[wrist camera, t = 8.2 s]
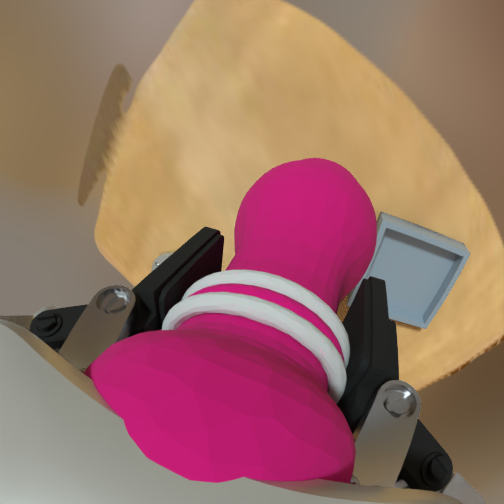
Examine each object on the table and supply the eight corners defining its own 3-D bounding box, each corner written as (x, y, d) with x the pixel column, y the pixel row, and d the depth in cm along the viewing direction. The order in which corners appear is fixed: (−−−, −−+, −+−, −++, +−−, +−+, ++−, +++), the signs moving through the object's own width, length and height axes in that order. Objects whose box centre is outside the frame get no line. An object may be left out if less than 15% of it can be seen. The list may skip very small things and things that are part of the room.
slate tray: (423, 316, 37) (425, 329, 35) (348, 293, 40) (347, 305, 38) (463, 243, 30) (470, 253, 27) (380, 211, 33) (382, 219, 30)
